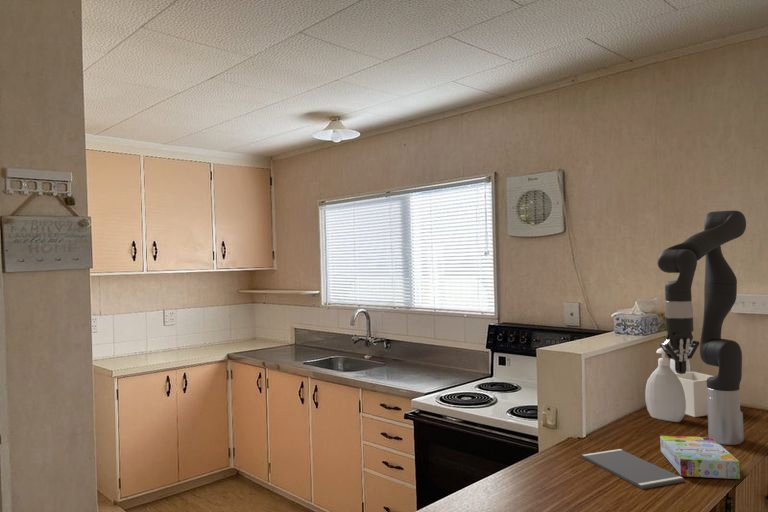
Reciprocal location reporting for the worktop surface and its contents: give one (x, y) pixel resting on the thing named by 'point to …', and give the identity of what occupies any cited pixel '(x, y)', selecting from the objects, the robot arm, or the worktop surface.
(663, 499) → the worktop surface
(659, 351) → the soap bottle
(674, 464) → the snack box
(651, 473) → the gray tablet computer
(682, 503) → the worktop surface
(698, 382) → the utensil crock
